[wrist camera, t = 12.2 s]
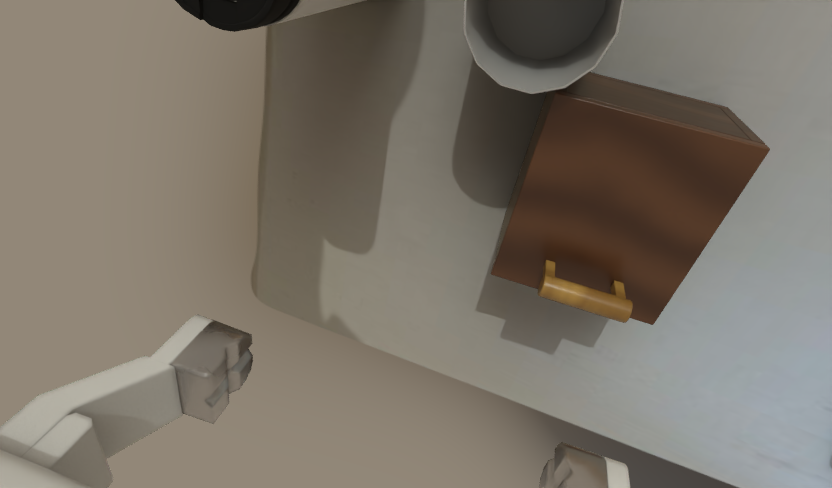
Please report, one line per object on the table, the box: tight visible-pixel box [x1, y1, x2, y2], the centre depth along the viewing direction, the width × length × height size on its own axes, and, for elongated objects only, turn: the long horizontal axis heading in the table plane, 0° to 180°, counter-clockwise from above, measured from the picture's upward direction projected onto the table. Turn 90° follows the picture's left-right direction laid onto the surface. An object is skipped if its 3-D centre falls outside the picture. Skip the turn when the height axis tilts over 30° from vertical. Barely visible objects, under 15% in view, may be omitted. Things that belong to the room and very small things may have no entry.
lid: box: [491, 90, 770, 325], centre depth 30 cm, size 14×13×4 cm
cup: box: [463, 0, 624, 94], centre depth 29 cm, size 8×8×10 cm
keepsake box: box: [495, 72, 765, 259], centre depth 35 cm, size 14×13×8 cm
